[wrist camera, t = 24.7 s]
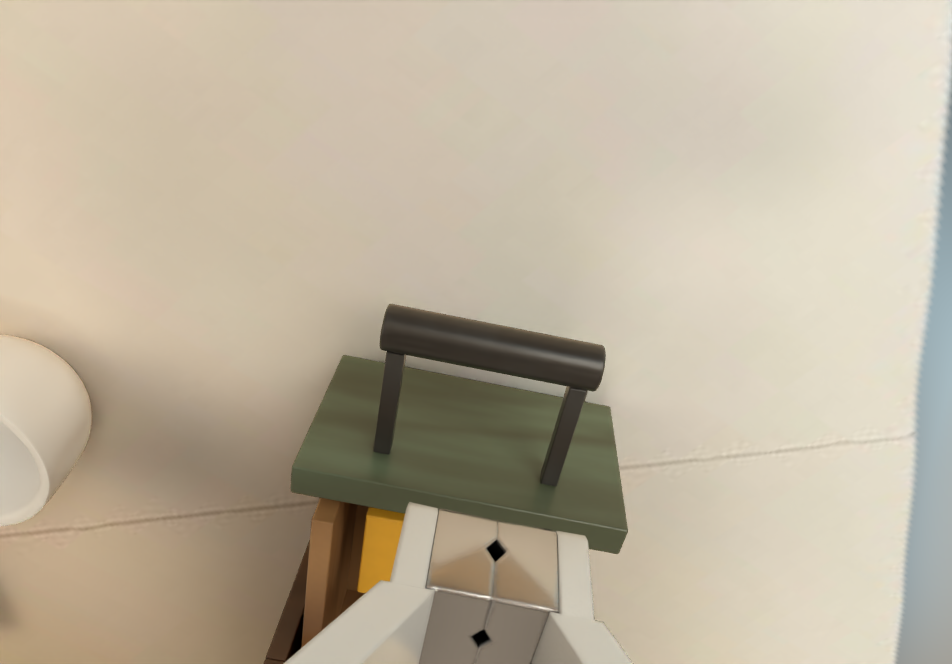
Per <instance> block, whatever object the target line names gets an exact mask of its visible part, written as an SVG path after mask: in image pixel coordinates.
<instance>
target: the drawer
mask: <svg viewBox="0 0 952 664" xmlns="http://www.w3.org/2000/svg"><path fill="white" fill-rule="evenodd" d="M380 349H381V350H384V351H387V352H386V359H385V363H383V362H378V361H373V360H368V359H362V358H357V357H352V356H347V355H343V356H342V358H341V360H340V363H339V365H338V367H337V369H336V371H335V374H334V376H333V378H332V380H331V382H330V385H329V387H328V389H327V391H326V393H325V396H324V398H323V400H322V402H321V404H320V406H319V409H318V411H317V413H316V415H315V417H314V420H313V422H312V424H311V426H310V428H309V431H308V433H307V435H306V437H305V439H304V441H303V444H302V446H301V448H300V450H299V452H298V455H297V457H296V459H295V461H294V463H293V466H292V473H291V492H293V493H299V494H304V495H309V496H314V497H320V499H319V502H318V504H317V507H316V510H315V512H314V515H313V517H312V521H311V533H310V546H309V558H308V571H307V583H306V596H305V608H304V621H303V634H302V646H301V648H302V647H303V646H304V645H306V644H307V643H308V642H309V641H310V640H311V639H313V638H314V637H315V636H316V635H317V634H318V633H320V632H321V631H322V630H323V629H324V628H325V627H327V626H328V625H329V624H330V623H331V622H332V621H334V620H335V619H336V618H337V617H338V616H339V615H341V614H342V613H343V612H344V611H345V610H346V609H348V608H349V607H350V606H351V605H352V604H353V603H355V602H356V601H357V600H358V599H359V598H360V597H362V596H363V595H364V594H365V593H361V592H358V591H357V586H358V578H359V570H360V562H361V554H362V545H363V537H364V529H365V521H366V515H367V511H368V508H369V507H372V508H377V509H383V510H388V511H393V512H398V513H404V514H405V512H406V509H407V506H408V504H409V502H412V503H416V504H421V505H425V506H430V507H435V508H438V512H439V508H442V509H447V510H451V511H456V512H461V513H465V514H470V515H474V516H479V517H484V518H488V519H493V520H501V521H506V522H512V523H517V524H523V525H528V526H534V527H539V528H545V529H550V530H554V531H561V532H567V533H572V534H578V535H583V536H586V538H587V540H588V546H589V549H593V550H598V551H604V552H609V553H614V554H618V553H619V552H620V549H621V547H622V544H623V542H624V540H625V537H626V535H627V532H628V528H627V521H626V514H625V507H624V500H623V493H622V486H621V479H620V472H619V465H618V458H617V451H616V444H615V437H614V430H613V423H612V416H611V409H610V407H609V406H604V405H598V404H593V403H588V402H584V401H585V398H586V395H587V390H589V391H596V390H597V388H598V387H599V385H600V382H601V379H602V376H603V372H604V367H605V356H606V355H605V348H604V346H602V345H598V344H593V343H588V342H583V341H578V340H573V339H568V338H562V337H557V336H552V335H547V334H542V333H537V332H532V331H527V330H522V329H517V328H512V327H507V326H502V325H496V324H491V323H486V322H481V321H476V320H471V319H466V318H461V317H456V316H451V315H446V314H441V313H435V312H430V311H425V310H420V309H415V308H410V307H405V306H400V305H395V304H389V305H388V307H387V309H386V312H385V316H384V320H383V324H382V329H381V335H380ZM406 355H410V356H415V357H420V358H425V359H430V360H435V361H441V362H446V363H451V364H456V365H461V366H466V367H471V368H476V369H482V370H487V371H492V372H497V373H502V374H507V375H512V376H517V377H522V378H528V379H533V380H538V381H543V382H548V383H553V384H558V385H563V386H567V388H566V391H565V394H564V397H557V396H552V395H547V394H542V393H537V392H532V391H527V390H521V389H516V388H511V387H506V386H501V385H496V384H491V383H486V382H480V381H475V380H470V379H465V378H460V377H455V376H450V375H444V374H439V373H434V372H429V371H424V370H419V369H414V368H409V367H404V366H405V360H406Z"/></svg>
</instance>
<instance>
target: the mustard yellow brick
mask: <svg viewBox="0 0 952 664" xmlns="http://www.w3.org/2000/svg"><path fill="white" fill-rule="evenodd" d="M404 517H405V514H404V513H398V512H393V511H388V510H383V509H377V508H372V507H369V508H368V511H367V515H366V521H365V529H364V537H363V545H362V554H361V562H360V570H359V578H358V586H357V591H358V592H361V593H366V592H367V591H369V590H370V589H371V588H372V587H373V586H374V585H376V584H377V583H378V582H379V581H380V580H383V581H389V582H390V578H391V573H392V569H393V565H394V560H395V556H396V552H397V547H398V543H399V538H400V534H401V530H402V525H403V521H404Z"/></svg>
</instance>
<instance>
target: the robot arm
mask: <svg viewBox="0 0 952 664" xmlns="http://www.w3.org/2000/svg"><path fill="white" fill-rule="evenodd" d="M283 664H633V662H632V661H631V659H630V658H629V657H628V655H627V654H626V653H625V651H624V650H623V648H622V647H621V646H620V644H619V643H618V642H617V640H616V639H615V637H614V636H613V635H612V633H611V632H610V630H609V629H608V628H607V626H606V625H605V624H604V622H600V621H596V620H595V619H594V607H593V595H592V583H591V570H590V558H589V546H588V540H587V538H586V536H583V535H578V534H572V533H567V532H561V531H554V530H550V529H545V528H539V527H534V526H528V525H523V524H517V523H512V522H506V521H501V520H493V519H488V518H484V517H479V516H474V515H470V514H465V513H461V512H456V511H451V510H447V509H442V508H439V512H438V508H435V507H430V506H425V505H421V504H416V503H412V502H409V504H408V506H407V509H406V512H405V517H404V521H403V525H402V530H401V534H400V538H399V543H398V547H397V552H396V556H395V560H394V565H393V569H392V573H391V578H390V582H389V581H383V580H380V581H379V582H378V583H377V584H376V585H374V586H373V587H372V588H371V589H370V590H369V591H367V592H366V593H365V594H364V595H363V596H362V597H360V598H359V599H358V600H357V601H356V602H355V603H353V604H352V605H351V606H350V607H349V608H348V609H346V610H345V611H344V612H343V613H342V614H341V615H339V616H338V617H337V618H336V619H335V620H334V621H332V622H331V623H330V624H329V625H328V626H327V627H325V628H324V629H323V630H322V631H321V632H320V633H318V634H317V635H316V636H315V637H314V638H313V639H311V640H310V641H309V642H308V643H307V644H306V645H304V646H303V647H302V648H301V649H300V650H299V651H297V652H296V653H295V654H294V655H293V656H292V657H290V658H289V659H288V660H287V661H286V662H285V663H283Z"/></svg>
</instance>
